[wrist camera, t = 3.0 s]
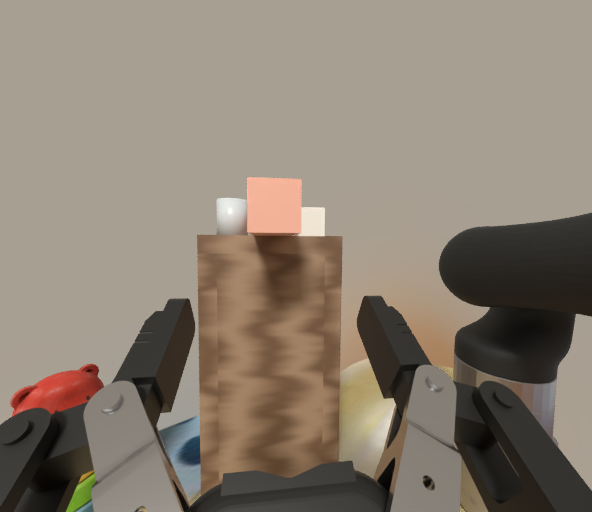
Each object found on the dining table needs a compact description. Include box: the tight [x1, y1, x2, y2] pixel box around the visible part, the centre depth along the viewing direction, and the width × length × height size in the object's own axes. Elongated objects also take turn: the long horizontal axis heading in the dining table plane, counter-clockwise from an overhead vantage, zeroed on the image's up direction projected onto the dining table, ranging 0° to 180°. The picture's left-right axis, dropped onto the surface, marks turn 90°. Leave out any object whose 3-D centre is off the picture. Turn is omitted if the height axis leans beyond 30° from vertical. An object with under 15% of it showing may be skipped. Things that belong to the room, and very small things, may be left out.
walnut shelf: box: [197, 235, 342, 496], centre depth 35 cm, size 16×14×32 cm
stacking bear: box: [11, 364, 104, 512], centre depth 25 cm, size 11×10×18 cm
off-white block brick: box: [294, 207, 325, 236], centre depth 36 cm, size 4×5×4 cm
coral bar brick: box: [247, 177, 302, 236], centre depth 30 cm, size 4×23×4 cm, turn 7°
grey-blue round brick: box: [217, 198, 248, 235], centre depth 34 cm, size 4×4×5 cm
